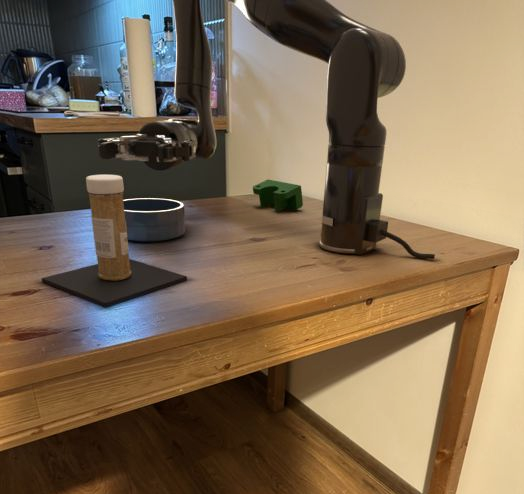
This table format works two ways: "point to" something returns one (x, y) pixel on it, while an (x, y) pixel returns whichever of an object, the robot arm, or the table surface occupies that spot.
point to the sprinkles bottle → (109, 226)
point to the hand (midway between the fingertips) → (131, 152)
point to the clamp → (279, 195)
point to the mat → (113, 283)
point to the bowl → (153, 219)
